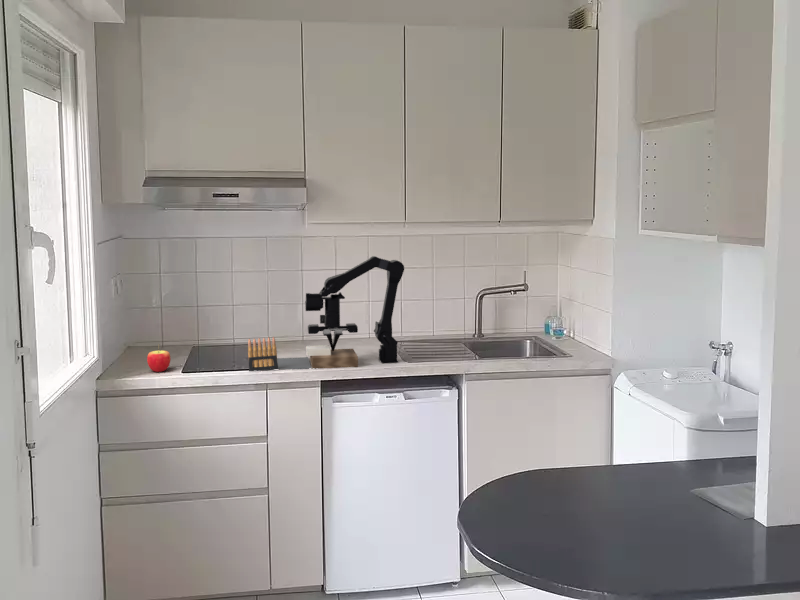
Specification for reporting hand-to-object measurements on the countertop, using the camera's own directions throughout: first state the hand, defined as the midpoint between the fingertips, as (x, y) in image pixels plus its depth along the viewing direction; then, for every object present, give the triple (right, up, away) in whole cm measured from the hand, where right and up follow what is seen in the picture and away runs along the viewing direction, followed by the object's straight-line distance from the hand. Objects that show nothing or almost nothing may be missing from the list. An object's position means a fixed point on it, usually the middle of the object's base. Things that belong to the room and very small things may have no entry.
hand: (332, 350), depth 313 cm
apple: (-63, -7, -12) cm, 65 cm away
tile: (-5, -1, -1) cm, 6 cm away
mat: (-16, -5, 0) cm, 17 cm away
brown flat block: (0, -5, +1) cm, 5 cm away
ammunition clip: (-25, -6, -11) cm, 28 cm away
